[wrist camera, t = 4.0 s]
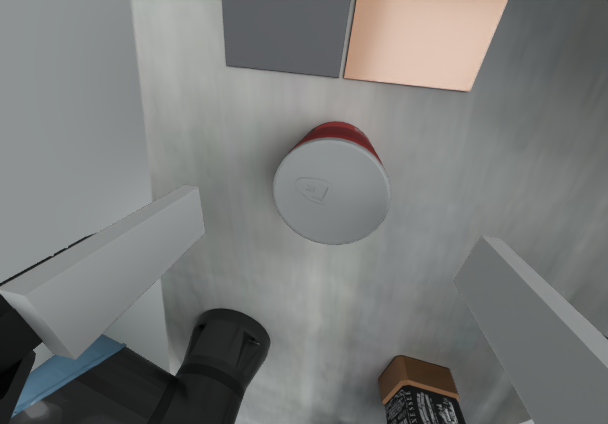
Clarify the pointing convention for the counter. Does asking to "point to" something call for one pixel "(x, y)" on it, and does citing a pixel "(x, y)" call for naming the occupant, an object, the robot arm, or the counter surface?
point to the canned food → (332, 186)
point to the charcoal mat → (286, 35)
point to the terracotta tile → (421, 41)
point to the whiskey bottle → (419, 393)
